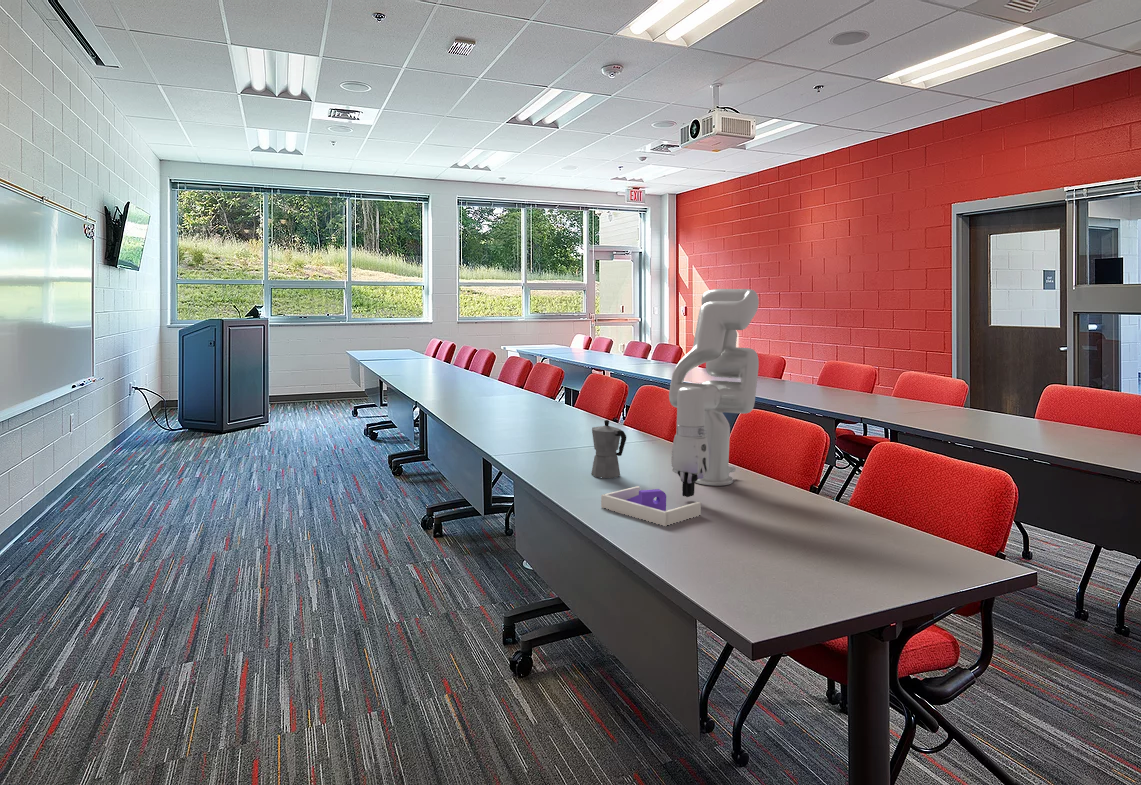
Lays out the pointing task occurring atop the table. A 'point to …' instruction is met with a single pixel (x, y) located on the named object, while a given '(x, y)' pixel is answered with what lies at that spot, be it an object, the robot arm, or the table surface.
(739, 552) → the table surface
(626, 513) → the white u-shaped fence
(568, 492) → the table surface
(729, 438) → the robot arm
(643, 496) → the bracket
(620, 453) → the coffeepot
